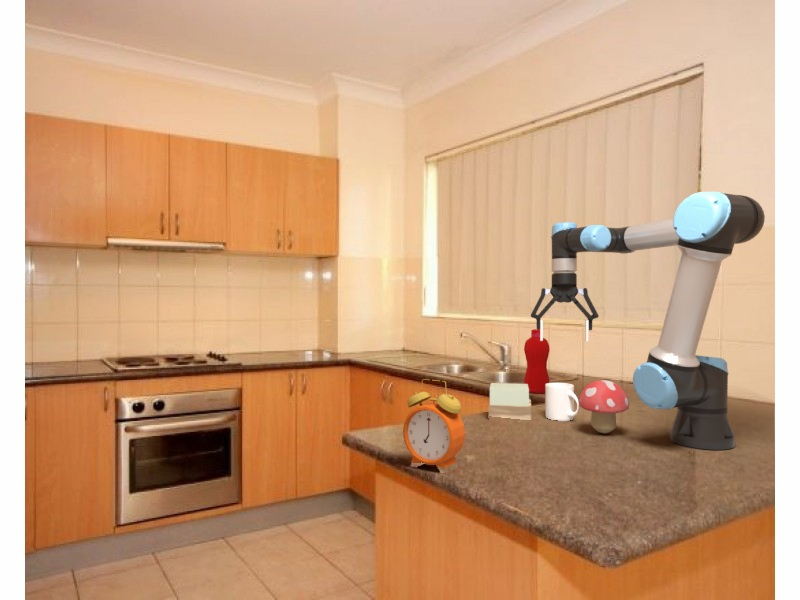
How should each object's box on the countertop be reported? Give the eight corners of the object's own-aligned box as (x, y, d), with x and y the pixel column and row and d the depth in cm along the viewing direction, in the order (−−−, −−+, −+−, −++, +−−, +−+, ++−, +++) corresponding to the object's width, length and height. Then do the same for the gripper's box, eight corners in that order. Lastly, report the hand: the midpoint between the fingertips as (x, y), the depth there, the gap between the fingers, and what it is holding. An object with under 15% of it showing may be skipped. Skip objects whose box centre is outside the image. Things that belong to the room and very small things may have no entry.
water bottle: (553, 390, 227) (553, 328, 227) (544, 394, 218) (544, 330, 217) (530, 388, 232) (530, 328, 232) (521, 392, 223) (521, 329, 222)
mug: (568, 425, 168) (568, 389, 168) (539, 417, 179) (539, 384, 178) (588, 421, 172) (588, 387, 172) (559, 414, 183) (559, 381, 183)
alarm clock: (401, 466, 129) (401, 379, 129) (416, 459, 134) (415, 376, 134) (452, 476, 122) (452, 384, 121) (465, 469, 127) (465, 381, 127)
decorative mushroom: (637, 440, 152) (638, 385, 150) (589, 441, 151) (589, 387, 150) (616, 424, 165) (617, 374, 164) (571, 426, 164) (571, 376, 163)
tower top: (528, 406, 174) (528, 390, 174) (489, 404, 176) (489, 389, 176) (527, 399, 186) (527, 383, 185) (490, 397, 188) (490, 382, 188)
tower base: (531, 423, 173) (531, 407, 173) (488, 421, 176) (488, 405, 175) (530, 414, 185) (530, 399, 185) (491, 412, 188) (491, 397, 188)
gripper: (604, 272, 176) (604, 340, 176) (523, 273, 182) (523, 338, 182) (608, 271, 169) (607, 342, 169) (523, 272, 174) (523, 340, 175)
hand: (563, 340), depth 175 cm, fingers open, 13 cm apart
